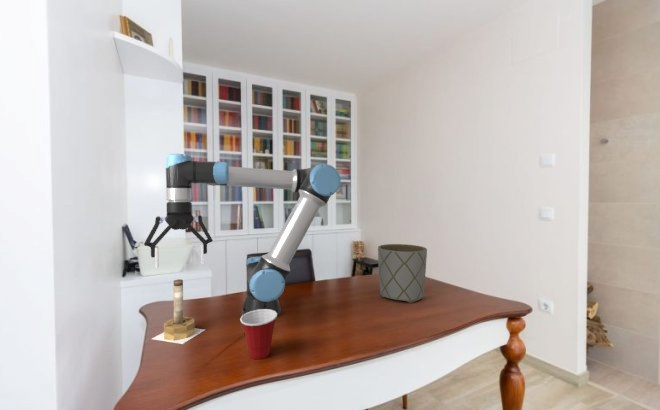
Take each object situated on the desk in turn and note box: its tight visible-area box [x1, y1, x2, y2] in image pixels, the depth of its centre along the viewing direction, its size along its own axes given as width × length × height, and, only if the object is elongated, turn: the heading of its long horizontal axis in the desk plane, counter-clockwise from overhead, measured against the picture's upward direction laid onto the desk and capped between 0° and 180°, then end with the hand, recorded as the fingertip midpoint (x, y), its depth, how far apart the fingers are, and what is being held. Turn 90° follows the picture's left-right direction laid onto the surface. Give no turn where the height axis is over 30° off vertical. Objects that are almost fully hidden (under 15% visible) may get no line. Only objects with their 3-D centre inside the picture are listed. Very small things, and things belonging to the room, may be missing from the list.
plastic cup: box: [239, 309, 278, 360], centre depth 93 cm, size 11×11×12 cm
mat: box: [151, 327, 205, 345], centre depth 105 cm, size 12×11×1 cm
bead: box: [163, 316, 196, 341], centre depth 105 cm, size 9×9×4 cm
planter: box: [377, 243, 428, 304], centre depth 150 cm, size 23×23×24 cm
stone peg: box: [173, 279, 184, 325], centre depth 105 cm, size 3×3×18 cm
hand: (180, 265), depth 104 cm, fingers open, 13 cm apart
